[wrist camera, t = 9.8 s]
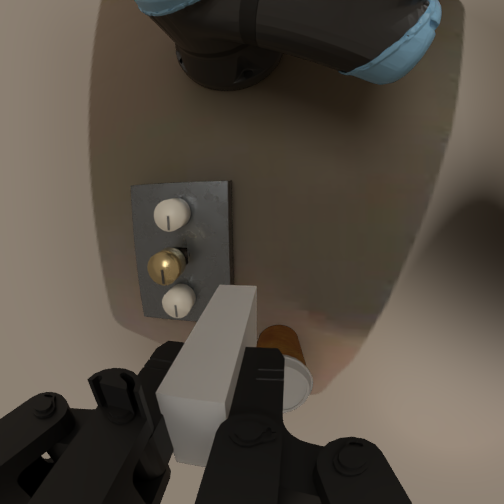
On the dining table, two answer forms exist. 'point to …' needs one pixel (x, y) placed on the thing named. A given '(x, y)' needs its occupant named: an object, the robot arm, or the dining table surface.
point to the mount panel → (185, 241)
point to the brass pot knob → (166, 266)
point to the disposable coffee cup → (289, 365)
